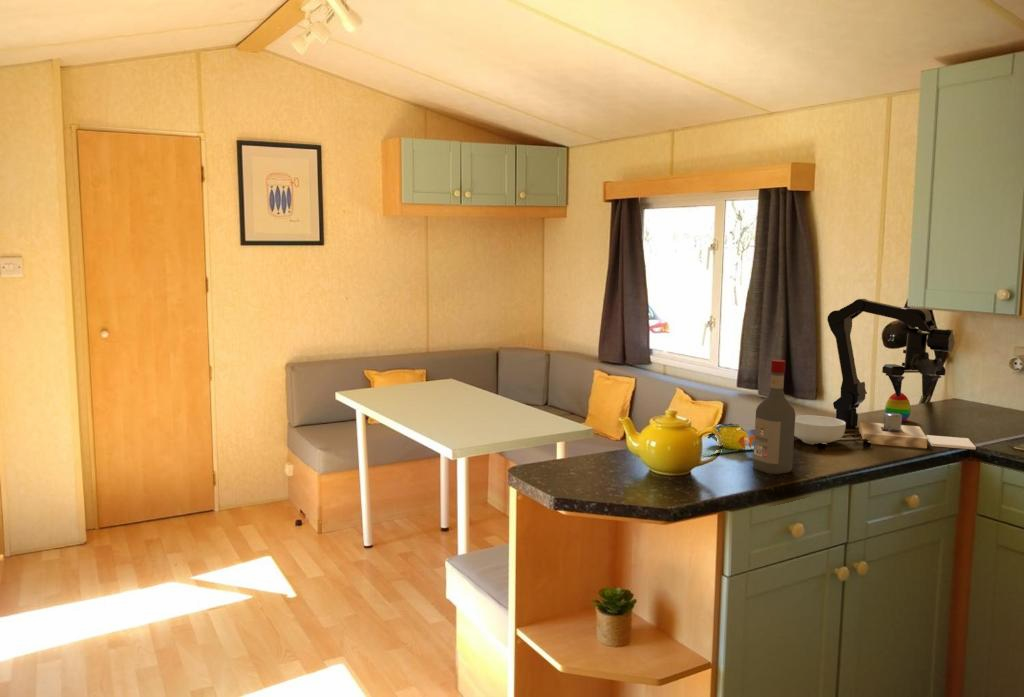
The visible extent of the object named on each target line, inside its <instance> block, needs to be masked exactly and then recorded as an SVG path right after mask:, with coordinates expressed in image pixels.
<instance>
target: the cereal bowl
mask: <svg viewBox="0 0 1024 697" xmlns="http://www.w3.org/2000/svg"><path fill="white" fill-rule="evenodd" d="M845 427H846V423H845V422H844V421H842V420H840V419H836V418H835V417H831V416H825V415H823V416H822V415H813V414H812V415H811V414H806V415H805V414H801V415H795V430H794V438H797V439H799V440H801V441H802V442H803V443H805V444H808V445H814V444H815V443H828V442H829V443H833V442H835V441H838V440H840V439H841V438H842V437H843V436H844V434H845V432H846V428H845Z"/></svg>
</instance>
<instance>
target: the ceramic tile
mask: <svg viewBox="0 0 1024 697" xmlns="http://www.w3.org/2000/svg"><path fill="white" fill-rule="evenodd" d="M925 436H926V437H927V442H929V444H930V446H932V447H939V448H940V447H941V448H951V449H952V448H953V449H962V450H974V451H975V450H976V448H977V447H976V446H975V445H974V443H973V442H972V441H971V440H970V438H968V437H956V436H955V437H954V436H944V435H931V434H930V435H929V434H926V435H925Z"/></svg>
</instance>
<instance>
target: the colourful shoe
mask: <svg viewBox="0 0 1024 697" xmlns="http://www.w3.org/2000/svg"><path fill="white" fill-rule="evenodd" d="M712 428H716V429H717V430H718V432H719V433H720V435H721V439H722V443H723V447H722V448H723V449H722V452H721V453H720V454H727V453H732V452H733V453H734V452H739V451H750V450H751V451H754V445H752V443H754V437H755V433H754V434H751V435H750V436H749V435H748V433H747V431H746V430H745V429H744V428H742V427H741V426H740V425H739V424H736V423H727V424H723V423H722V424H715V425H714V426H713V427H712ZM711 438H712V440H714V441H715V442H716V443H718V442H717V438H716V437H715V435H711V434H709V435H707V439H709V440H710V439H711ZM747 445H748V446H747ZM717 449H718V448H717ZM717 449H710V450H705V451H701V452H702V457H701V458H708V457H711V455H712V456H714V455H713V454H714V453H715V451H716V450H717Z"/></svg>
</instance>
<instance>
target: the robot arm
mask: <svg viewBox="0 0 1024 697" xmlns="http://www.w3.org/2000/svg"><path fill="white" fill-rule="evenodd" d="M863 312H864V313H867V314H873V315H876V316H877V315H878V316H881V317H886V318H890V319H895V320H896V321H899V322H901V323H903V324H906V326H905V327H904V328H903V329H901V330H900V333H902V334H906V337H907V338H906V346H905V349H903V350H902V354H905V355H904V356H905V357H904V362H901V365H899V364H895V363H893V364H892V363H887V364H886V363H885V364H884V365H883V367H882V370H881V372H882V373H883V374H885V376H887V377H888V378H889V380H890V383H891V385H892V388H893V390H894V393H896V395H897V396H898V397H900V394H901V393H902V386H903V385H902V383H903V380H904V379H905V376H904V374H905V373H906V374H907V373H908V374H909V373H911V374H913V373H916V374H917V373H918V374H920V375H921V391H922V397H923V398H924V397H927V395H928V393H929V391H930V389H931V387H932V386H933V384H934V383H935V381H937V380H938V379H941V378H942V376H946V372H947V371H946V368H945V366H943V360H942V359H941V358H934V359H930V356H929V355H930V354H929V352H927V347H928V348H929V349H930V350H931V351H937V352H940V351H941V352H948V353H951V352H952V351H953V349H954V347H955V342H956V341H955V335H954V330H953V329H941V328H940V329H939V328H938V327H937V325H936V323H935V322H934V321H933V320H932V313H931V312H930V310H929V309H928V308H923V307H901V306H897V305H892V304H888V303H887V304H886V303H882V302H878V301H873V300H868V299H866V298H858V299H856V300H854V301H853V302H852V303H849V304H847V305H846V306H844V307H842V308H840V309H838V310H833V311H831V312H830V313H829V314H828V315H827V319H826V320H827V323H828V327H829V330H830V331H831V333H832V334H833V336H834V338H835V343H836V348H837V353H838V360H839V365H840V372H841V376H842V377H841V378H842V381H841V385H840V397H839V398H837V399H836V400H835V401H834V402H833V403H832V404H833V405H832V406H833V409H834V410H835V417H834V418H836V419H840V420H842V421H844V422H845V423H846V427H845V429H855V430H856V429H857V427H858V423H859V422H858V421H859V420H858V419H859V413H858V412H857V409H858V408H859V406H860V405H861V404H862V403H863V402H864V401H865V400H866V395H867V394H868V392H867V390H866V383H865V381H862V382H861V381H860V379H859V378H858V374H857V369H856V368H857V367H856V363H855V356H854V350H853V345H852V340H851V333H852V329H853V320H854V319H855V318H857V317H858V316H860V315H861V314H862V313H863Z"/></svg>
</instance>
